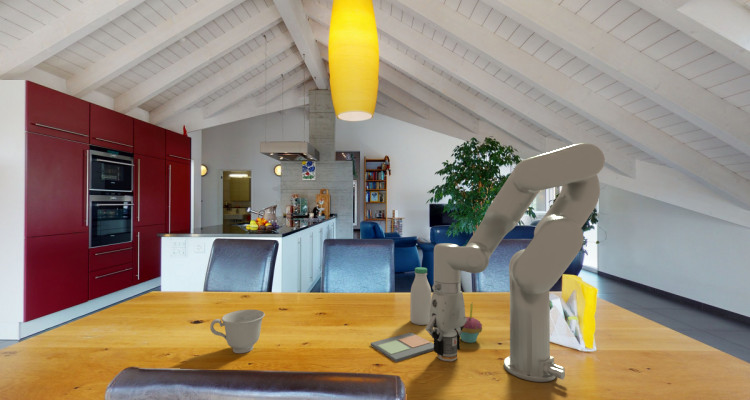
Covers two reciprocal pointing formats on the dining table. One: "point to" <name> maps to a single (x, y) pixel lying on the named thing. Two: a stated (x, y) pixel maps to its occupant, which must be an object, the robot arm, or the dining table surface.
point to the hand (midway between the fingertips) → (446, 350)
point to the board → (403, 346)
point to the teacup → (240, 329)
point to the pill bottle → (449, 346)
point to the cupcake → (471, 329)
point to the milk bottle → (420, 298)
